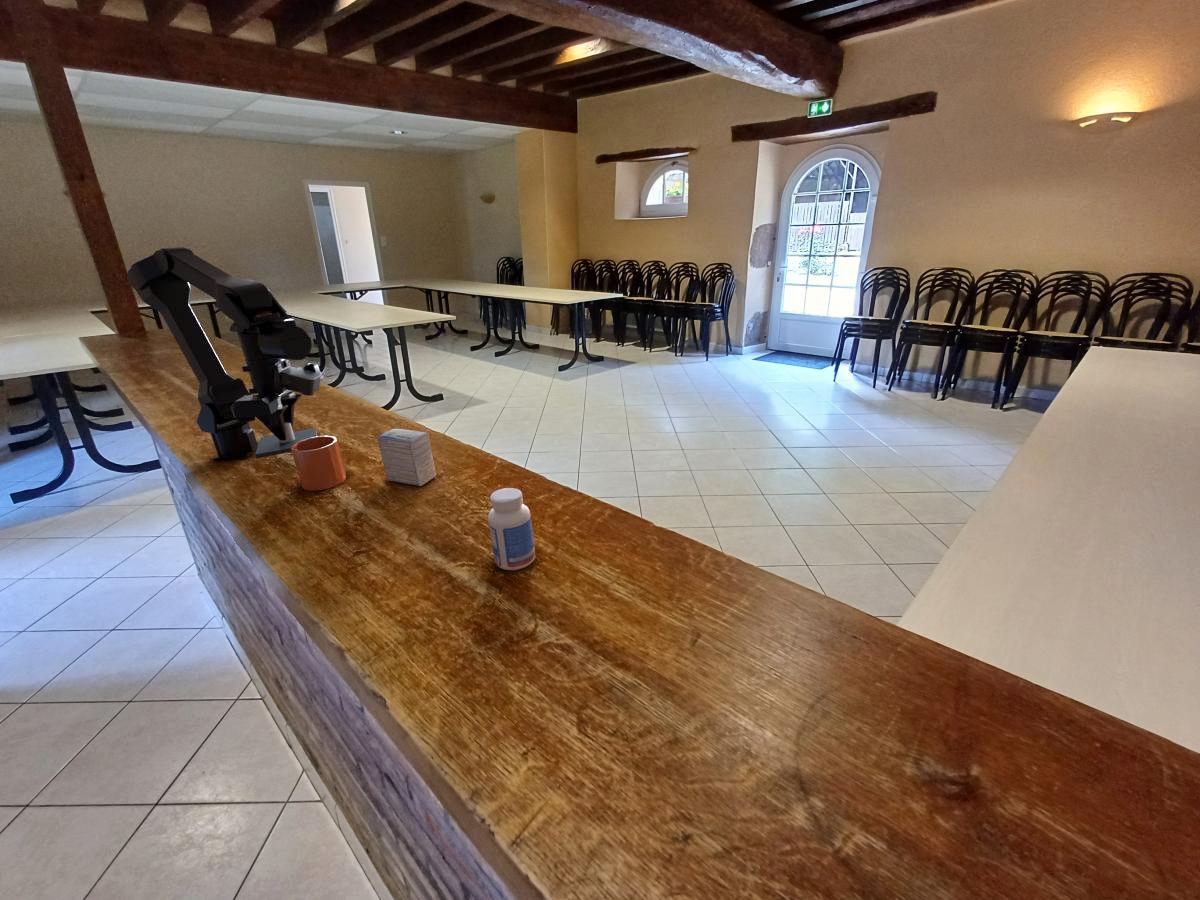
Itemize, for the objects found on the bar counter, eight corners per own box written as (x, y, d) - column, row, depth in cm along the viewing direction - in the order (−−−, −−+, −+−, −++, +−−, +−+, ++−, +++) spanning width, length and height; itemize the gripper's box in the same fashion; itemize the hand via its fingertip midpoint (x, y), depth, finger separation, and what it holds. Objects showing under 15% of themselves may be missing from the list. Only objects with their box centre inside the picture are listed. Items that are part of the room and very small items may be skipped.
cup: (295, 492, 96) (283, 453, 93) (311, 474, 103) (301, 437, 100) (338, 488, 97) (327, 449, 94) (351, 471, 103) (342, 434, 101)
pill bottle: (542, 551, 75) (535, 487, 71) (524, 574, 70) (516, 507, 67) (506, 546, 77) (498, 483, 73) (487, 568, 72) (476, 502, 68)
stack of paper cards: (437, 477, 99) (429, 432, 96) (420, 487, 96) (411, 441, 92) (403, 471, 103) (394, 427, 99) (386, 481, 99) (376, 436, 95)
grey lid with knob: (256, 458, 100) (249, 438, 98) (261, 441, 108) (255, 422, 107) (316, 447, 103) (311, 427, 102) (317, 431, 112) (312, 412, 110)
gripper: (286, 365, 91) (310, 452, 97) (328, 343, 108) (346, 418, 114) (216, 370, 90) (245, 457, 96) (269, 347, 108) (290, 422, 114)
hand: (286, 437), depth 105 cm, fingers closed on grey lid with knob, 2 cm apart
